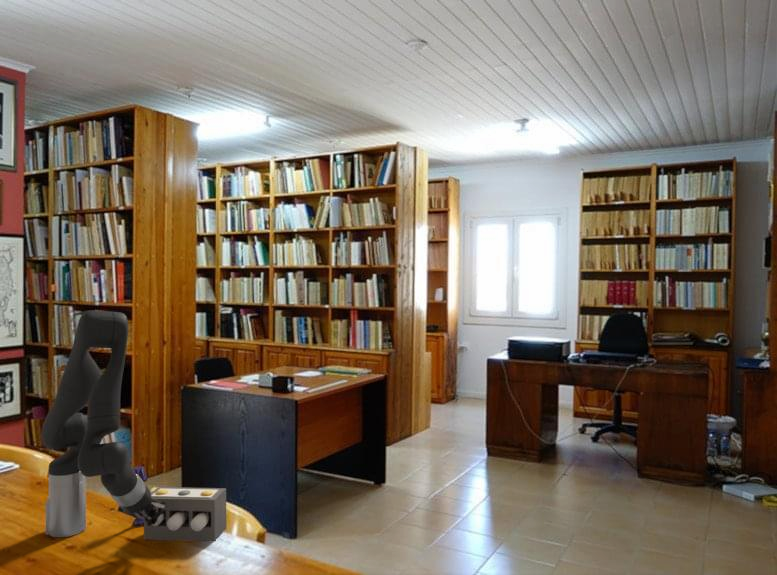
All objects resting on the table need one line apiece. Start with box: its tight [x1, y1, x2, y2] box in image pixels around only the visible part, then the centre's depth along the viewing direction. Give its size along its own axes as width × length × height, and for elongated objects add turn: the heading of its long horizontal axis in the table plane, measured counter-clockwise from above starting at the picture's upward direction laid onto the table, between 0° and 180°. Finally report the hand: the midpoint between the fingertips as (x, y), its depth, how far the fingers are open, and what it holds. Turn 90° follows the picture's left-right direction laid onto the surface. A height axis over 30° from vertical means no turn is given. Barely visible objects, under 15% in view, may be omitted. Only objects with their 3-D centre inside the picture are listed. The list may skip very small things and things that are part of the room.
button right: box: [191, 511, 210, 531], centre depth 161 cm, size 4×6×4 cm, turn 176°
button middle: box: [167, 511, 187, 531], centre depth 162 cm, size 4×6×4 cm, turn 176°
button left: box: [151, 510, 166, 526], centre depth 165 cm, size 4×6×4 cm, turn 176°
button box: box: [143, 486, 227, 542], centre depth 166 cm, size 20×9×12 cm, turn 86°
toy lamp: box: [132, 465, 148, 527], centre depth 173 cm, size 5×5×17 cm
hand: (153, 520), depth 161 cm, fingers closed
